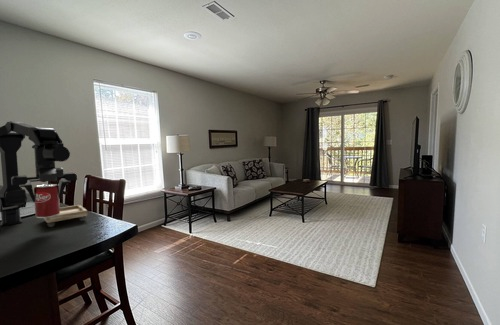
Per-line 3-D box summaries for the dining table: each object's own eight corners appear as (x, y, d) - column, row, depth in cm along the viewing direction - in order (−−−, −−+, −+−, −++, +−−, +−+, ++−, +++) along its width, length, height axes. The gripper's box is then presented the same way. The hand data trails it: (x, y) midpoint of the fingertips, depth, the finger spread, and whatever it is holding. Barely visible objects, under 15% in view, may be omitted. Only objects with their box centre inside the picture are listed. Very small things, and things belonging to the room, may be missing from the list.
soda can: (45, 219, 87) (43, 187, 86) (30, 217, 88) (28, 186, 87) (64, 213, 94) (63, 184, 93) (50, 212, 95) (48, 183, 95)
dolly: (42, 221, 104) (41, 210, 104) (80, 214, 115) (79, 204, 114) (47, 228, 95) (46, 217, 95) (87, 220, 105) (87, 210, 105)
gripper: (11, 163, 77) (14, 209, 78) (79, 160, 91) (81, 199, 92) (10, 161, 85) (12, 203, 86) (73, 159, 98) (74, 195, 100)
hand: (47, 200), depth 91 cm, fingers closed on soda can, 7 cm apart
